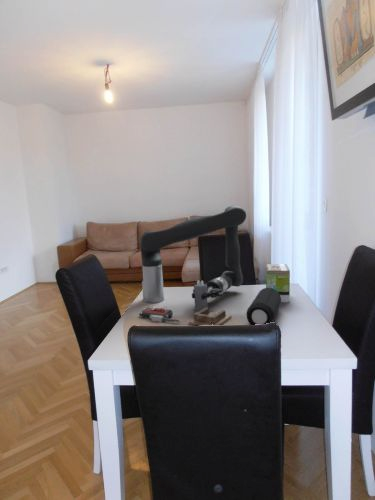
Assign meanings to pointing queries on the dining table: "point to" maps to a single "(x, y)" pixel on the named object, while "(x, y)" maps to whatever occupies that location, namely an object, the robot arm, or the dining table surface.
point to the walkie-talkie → (158, 314)
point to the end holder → (209, 318)
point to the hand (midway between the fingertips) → (197, 296)
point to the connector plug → (198, 291)
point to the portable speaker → (264, 307)
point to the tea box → (279, 280)
